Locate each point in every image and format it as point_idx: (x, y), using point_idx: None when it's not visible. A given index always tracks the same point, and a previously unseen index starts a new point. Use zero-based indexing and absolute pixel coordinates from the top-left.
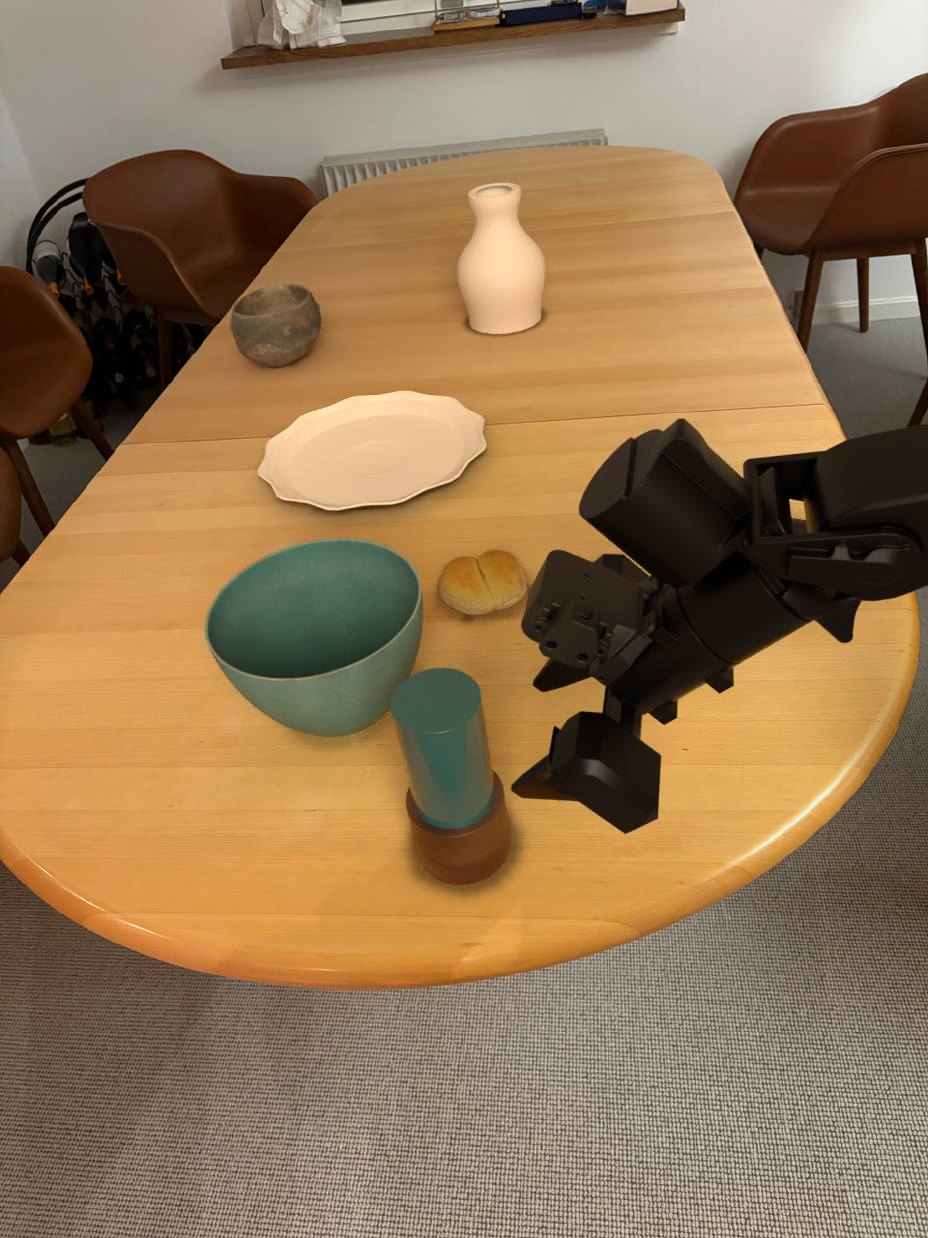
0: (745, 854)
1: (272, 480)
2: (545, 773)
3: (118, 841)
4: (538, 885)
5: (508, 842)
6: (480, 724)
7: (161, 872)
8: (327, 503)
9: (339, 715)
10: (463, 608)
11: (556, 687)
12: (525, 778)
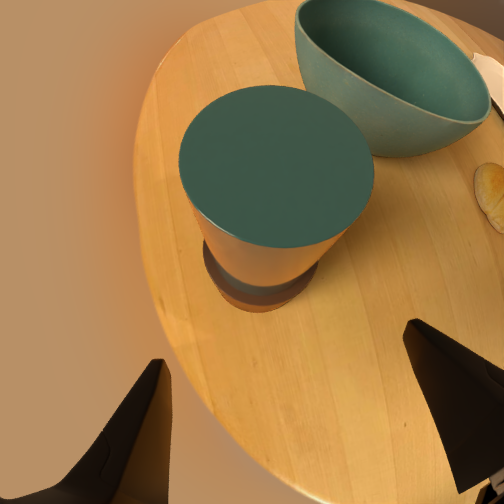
0: (307, 493)
1: (476, 59)
2: (78, 462)
3: (202, 54)
4: (232, 349)
5: (262, 311)
6: (273, 261)
7: (184, 79)
8: None
9: None
10: (477, 188)
11: (412, 363)
12: (128, 400)
